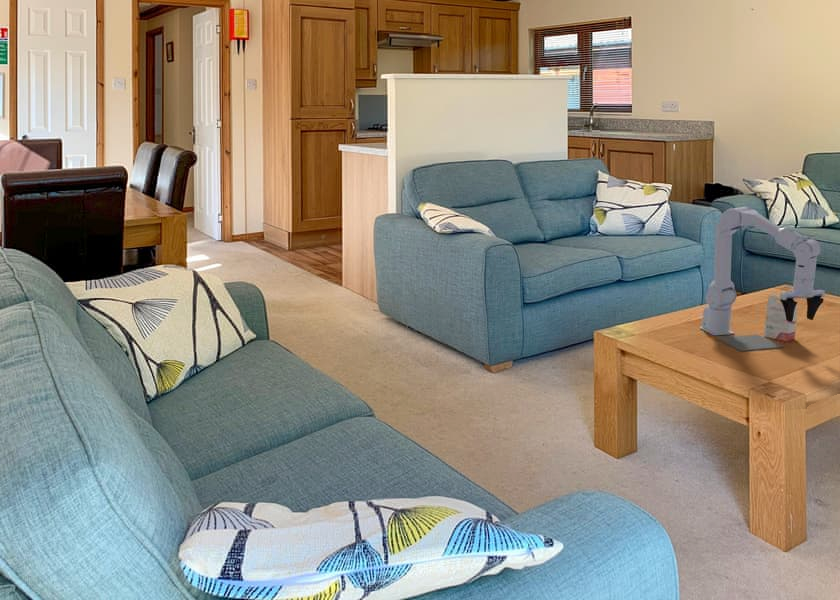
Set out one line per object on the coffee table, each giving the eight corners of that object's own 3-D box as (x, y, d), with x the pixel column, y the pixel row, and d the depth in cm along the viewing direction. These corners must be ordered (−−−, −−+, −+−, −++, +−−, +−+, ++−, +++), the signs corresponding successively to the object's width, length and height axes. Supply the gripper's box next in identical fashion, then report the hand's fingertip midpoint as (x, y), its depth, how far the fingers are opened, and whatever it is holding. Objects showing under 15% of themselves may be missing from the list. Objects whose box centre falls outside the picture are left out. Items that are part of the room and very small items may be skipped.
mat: (716, 338, 261) (716, 337, 261) (757, 335, 264) (757, 334, 263) (741, 351, 247) (741, 350, 247) (783, 347, 250) (784, 346, 250)
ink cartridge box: (795, 339, 259) (800, 297, 255) (787, 342, 256) (792, 299, 252) (771, 333, 266) (775, 292, 262) (763, 336, 263) (767, 294, 259)
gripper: (792, 282, 236) (787, 325, 239) (833, 279, 238) (828, 321, 242) (777, 277, 242) (773, 319, 246) (817, 274, 245) (813, 315, 248)
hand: (799, 320), depth 244 cm, fingers open, 7 cm apart
